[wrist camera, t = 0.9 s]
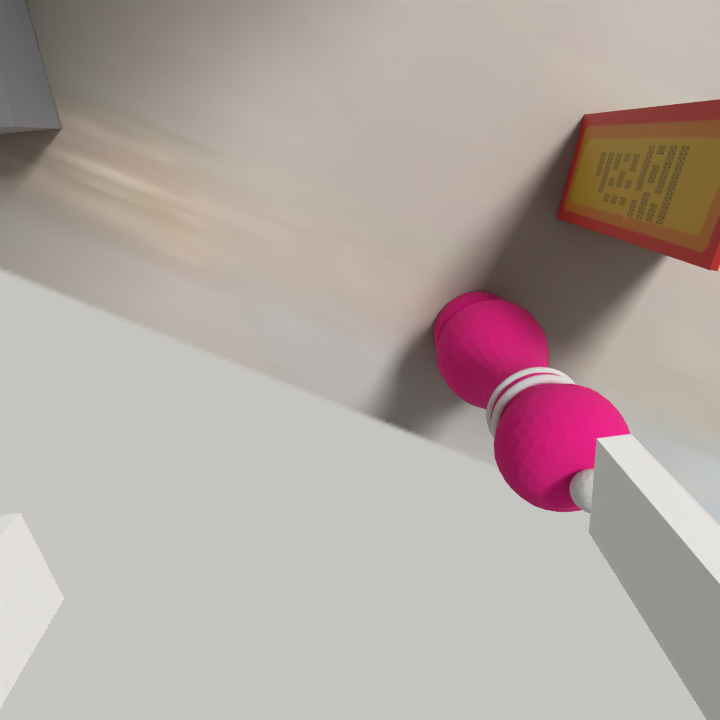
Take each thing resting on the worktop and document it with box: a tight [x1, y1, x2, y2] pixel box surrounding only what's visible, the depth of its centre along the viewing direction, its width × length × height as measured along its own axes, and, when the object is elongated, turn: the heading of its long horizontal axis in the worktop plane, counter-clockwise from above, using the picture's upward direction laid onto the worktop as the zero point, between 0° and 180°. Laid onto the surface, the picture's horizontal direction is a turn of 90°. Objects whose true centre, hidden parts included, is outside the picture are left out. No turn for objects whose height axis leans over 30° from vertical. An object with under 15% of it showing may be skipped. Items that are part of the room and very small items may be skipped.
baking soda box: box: [557, 99, 720, 271], centre depth 27 cm, size 10×6×16 cm
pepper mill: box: [434, 291, 630, 513], centre depth 29 cm, size 7×7×20 cm
